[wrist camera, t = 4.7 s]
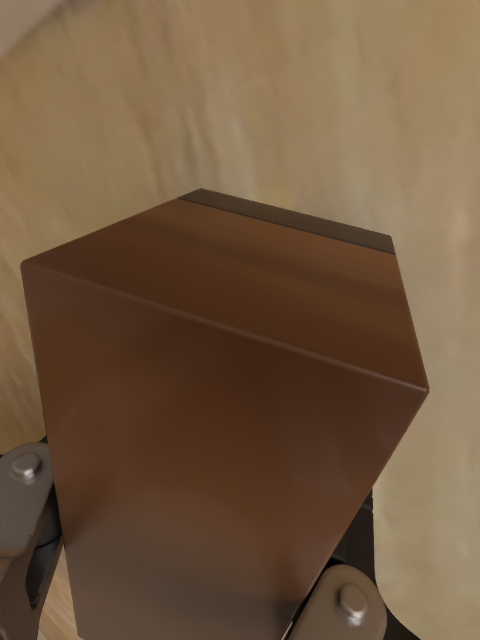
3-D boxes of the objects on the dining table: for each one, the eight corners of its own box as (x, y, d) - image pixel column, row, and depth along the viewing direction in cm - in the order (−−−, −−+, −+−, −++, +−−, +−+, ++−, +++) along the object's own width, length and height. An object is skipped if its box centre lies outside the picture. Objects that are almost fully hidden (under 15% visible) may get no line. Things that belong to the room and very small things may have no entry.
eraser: (200, 187, 10) (15, 259, 4) (392, 235, 9) (433, 391, 4) (168, 471, 16) (76, 636, 11) (279, 514, 15) (236, 715, 10)
